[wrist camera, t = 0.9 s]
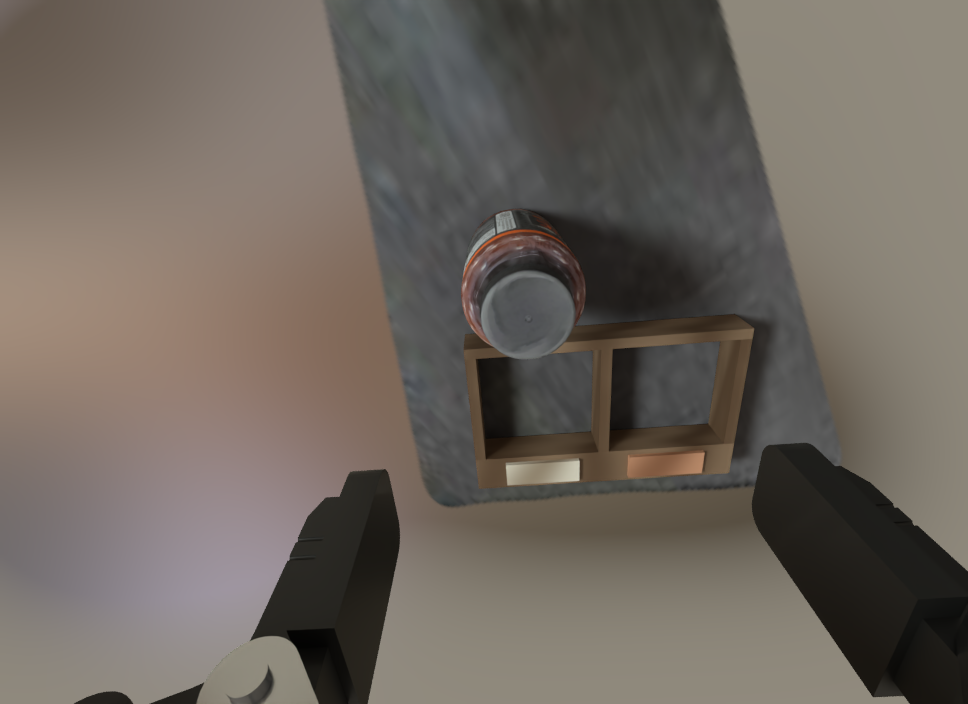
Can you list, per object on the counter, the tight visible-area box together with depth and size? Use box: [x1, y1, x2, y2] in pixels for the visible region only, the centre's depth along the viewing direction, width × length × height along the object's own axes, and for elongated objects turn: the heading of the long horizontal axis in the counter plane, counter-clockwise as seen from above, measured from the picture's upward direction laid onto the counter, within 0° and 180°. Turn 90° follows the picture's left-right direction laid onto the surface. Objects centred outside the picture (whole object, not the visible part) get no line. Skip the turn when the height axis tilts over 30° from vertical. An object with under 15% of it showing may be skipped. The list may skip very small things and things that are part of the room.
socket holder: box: [464, 314, 754, 489], centre depth 33 cm, size 18×11×3 cm, turn 95°
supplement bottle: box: [461, 209, 586, 360], centre depth 24 cm, size 6×6×11 cm
